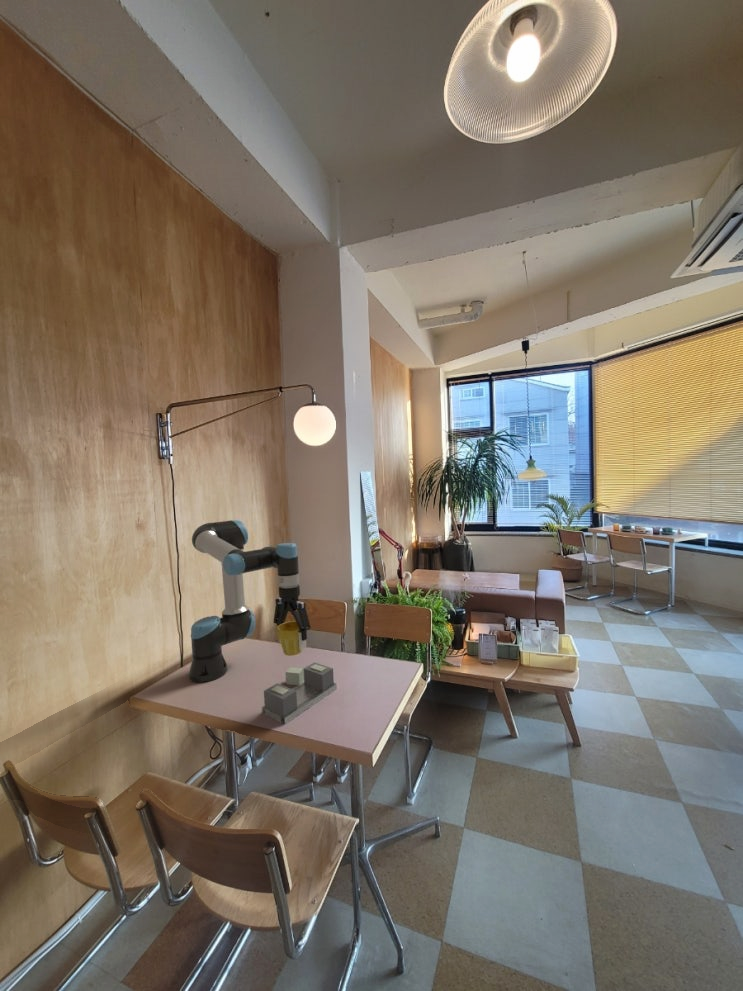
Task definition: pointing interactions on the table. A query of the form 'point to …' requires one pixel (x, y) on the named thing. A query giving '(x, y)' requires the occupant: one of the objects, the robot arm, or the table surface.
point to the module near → (280, 699)
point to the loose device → (294, 676)
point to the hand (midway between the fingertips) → (292, 645)
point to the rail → (301, 701)
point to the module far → (318, 676)
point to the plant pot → (289, 637)
